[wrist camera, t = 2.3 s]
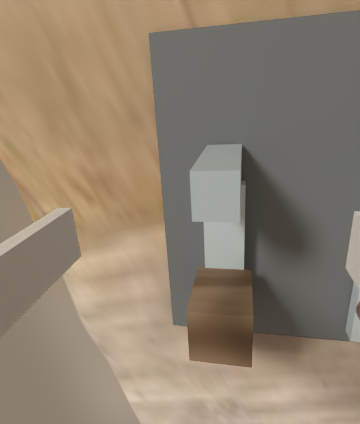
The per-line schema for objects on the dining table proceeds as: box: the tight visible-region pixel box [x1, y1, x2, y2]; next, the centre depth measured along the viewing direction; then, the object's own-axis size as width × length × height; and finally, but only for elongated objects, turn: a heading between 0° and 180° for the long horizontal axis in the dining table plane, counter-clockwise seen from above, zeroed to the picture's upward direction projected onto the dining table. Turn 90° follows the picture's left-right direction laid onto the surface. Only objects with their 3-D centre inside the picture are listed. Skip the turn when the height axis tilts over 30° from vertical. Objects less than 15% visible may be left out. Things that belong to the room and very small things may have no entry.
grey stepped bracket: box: [190, 144, 246, 270], centre depth 27 cm, size 20×4×10 cm, turn 3°
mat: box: [149, 10, 360, 342], centre depth 30 cm, size 32×28×1 cm
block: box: [187, 267, 253, 367], centre depth 29 cm, size 6×6×7 cm
